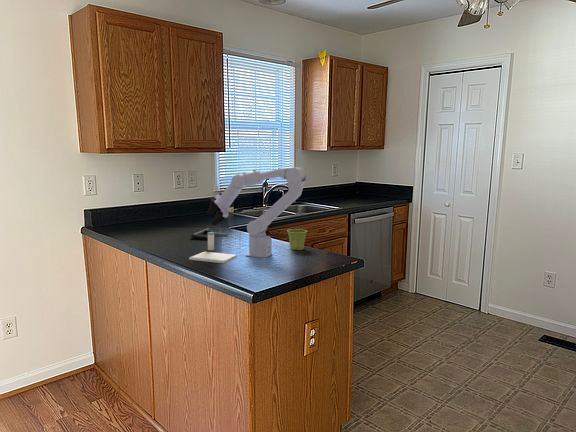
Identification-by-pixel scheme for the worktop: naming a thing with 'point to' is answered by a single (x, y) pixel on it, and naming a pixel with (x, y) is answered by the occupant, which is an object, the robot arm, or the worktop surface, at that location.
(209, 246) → the marker
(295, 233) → the plant pot
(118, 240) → the worktop surface
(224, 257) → the notepad
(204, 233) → the door handle
